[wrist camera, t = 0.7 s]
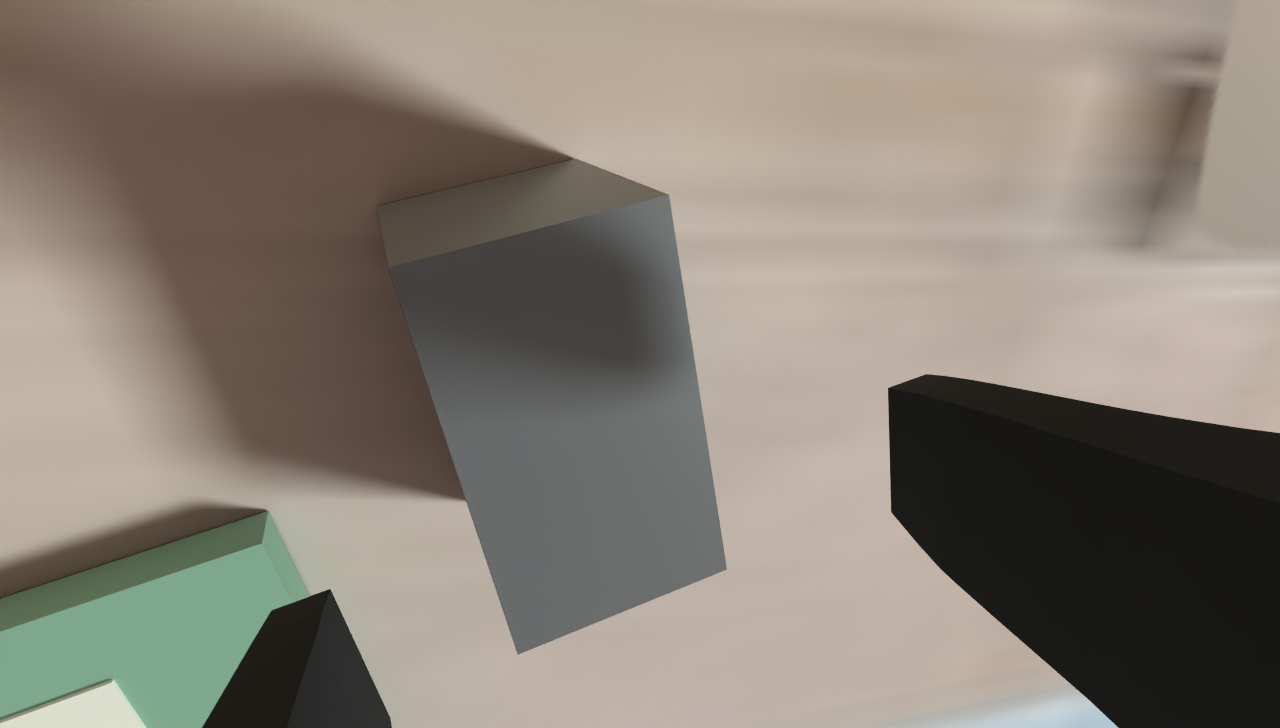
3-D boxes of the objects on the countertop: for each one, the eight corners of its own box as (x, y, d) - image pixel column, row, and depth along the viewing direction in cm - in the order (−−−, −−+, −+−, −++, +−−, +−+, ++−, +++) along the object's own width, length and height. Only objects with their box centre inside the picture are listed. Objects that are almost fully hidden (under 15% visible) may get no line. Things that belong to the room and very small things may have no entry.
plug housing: (635, 447, 18) (726, 569, 13) (475, 503, 17) (517, 654, 12) (575, 158, 15) (668, 194, 10) (376, 205, 14) (387, 267, 9)
